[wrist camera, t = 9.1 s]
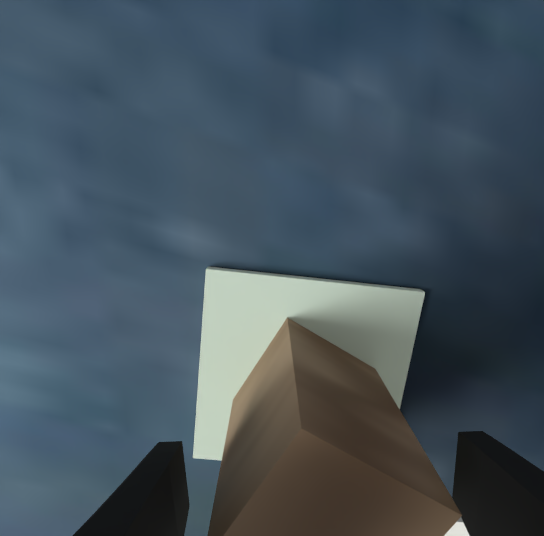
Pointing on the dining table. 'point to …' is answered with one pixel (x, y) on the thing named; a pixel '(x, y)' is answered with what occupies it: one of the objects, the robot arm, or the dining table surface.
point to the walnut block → (323, 451)
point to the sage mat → (308, 313)
